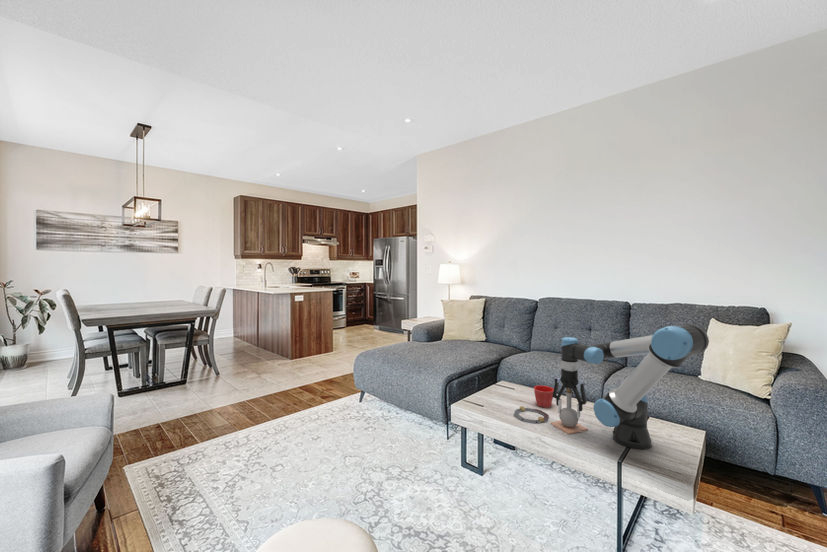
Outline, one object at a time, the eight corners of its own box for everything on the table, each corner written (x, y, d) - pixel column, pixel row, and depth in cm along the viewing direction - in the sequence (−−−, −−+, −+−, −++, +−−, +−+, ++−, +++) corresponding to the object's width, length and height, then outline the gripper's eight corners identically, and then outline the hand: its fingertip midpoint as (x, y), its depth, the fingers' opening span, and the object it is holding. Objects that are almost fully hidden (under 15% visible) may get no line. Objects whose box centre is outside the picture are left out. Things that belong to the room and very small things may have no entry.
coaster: (587, 430, 171) (587, 428, 171) (568, 434, 167) (568, 432, 167) (569, 420, 182) (569, 418, 182) (550, 424, 178) (550, 422, 178)
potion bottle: (556, 420, 179) (556, 385, 178) (573, 420, 179) (573, 384, 179) (564, 428, 170) (564, 391, 170) (582, 427, 170) (582, 390, 170)
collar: (555, 420, 182) (555, 416, 182) (528, 425, 176) (528, 421, 176) (533, 408, 198) (533, 404, 198) (508, 412, 192) (508, 408, 192)
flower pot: (557, 408, 197) (557, 391, 197) (537, 408, 198) (537, 391, 197) (550, 401, 208) (550, 385, 208) (531, 401, 208) (531, 385, 208)
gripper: (594, 371, 170) (594, 417, 171) (550, 363, 184) (550, 407, 184) (590, 374, 164) (590, 423, 165) (545, 367, 178) (545, 411, 178)
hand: (569, 414), depth 174 cm, fingers open, 8 cm apart
